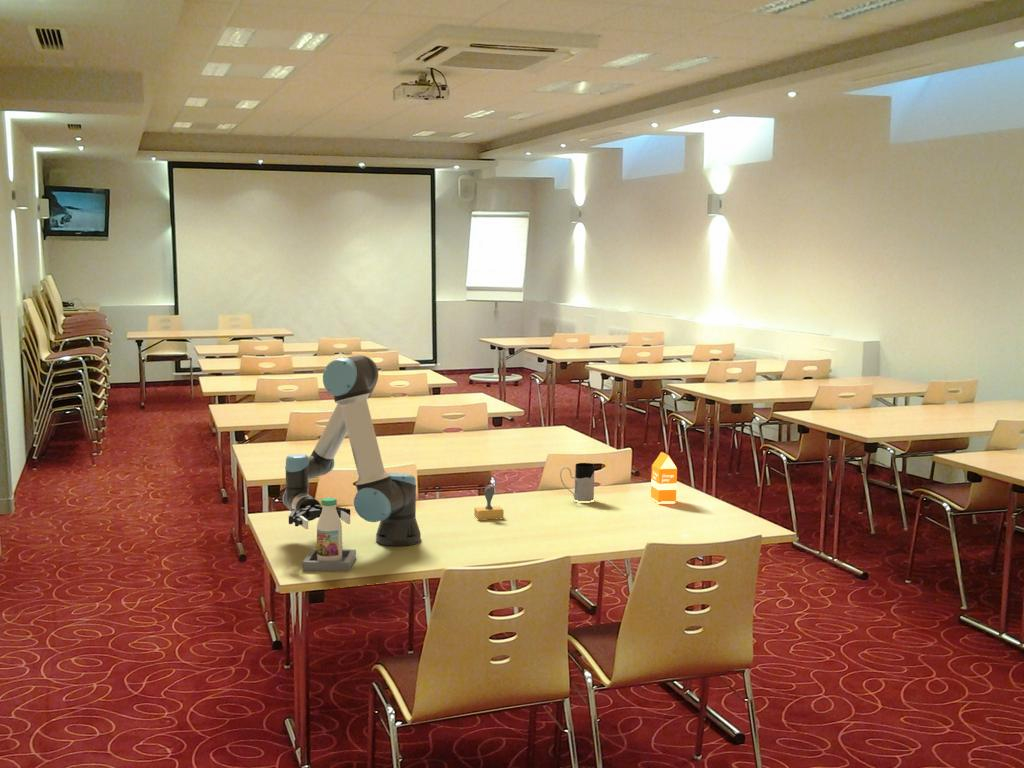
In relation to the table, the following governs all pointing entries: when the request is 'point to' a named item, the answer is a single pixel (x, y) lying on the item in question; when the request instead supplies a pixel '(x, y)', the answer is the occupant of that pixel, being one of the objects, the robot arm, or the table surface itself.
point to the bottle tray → (329, 562)
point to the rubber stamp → (488, 508)
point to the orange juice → (664, 479)
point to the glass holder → (583, 482)
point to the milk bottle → (329, 532)
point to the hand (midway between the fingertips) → (328, 522)
